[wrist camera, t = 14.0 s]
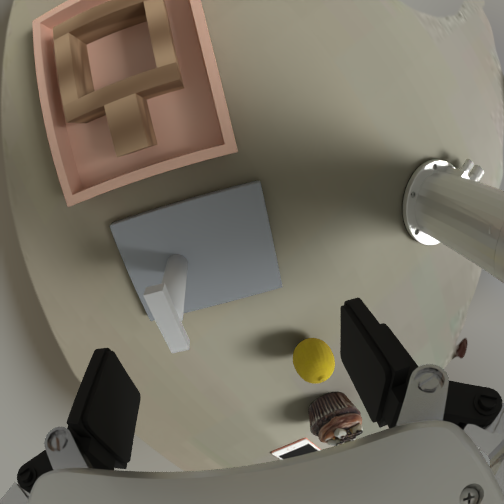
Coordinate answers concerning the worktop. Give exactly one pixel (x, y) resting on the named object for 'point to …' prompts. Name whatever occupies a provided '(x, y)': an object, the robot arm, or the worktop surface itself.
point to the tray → (161, 107)
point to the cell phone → (296, 449)
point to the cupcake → (334, 419)
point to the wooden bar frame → (124, 91)
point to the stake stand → (198, 255)
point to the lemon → (313, 360)
